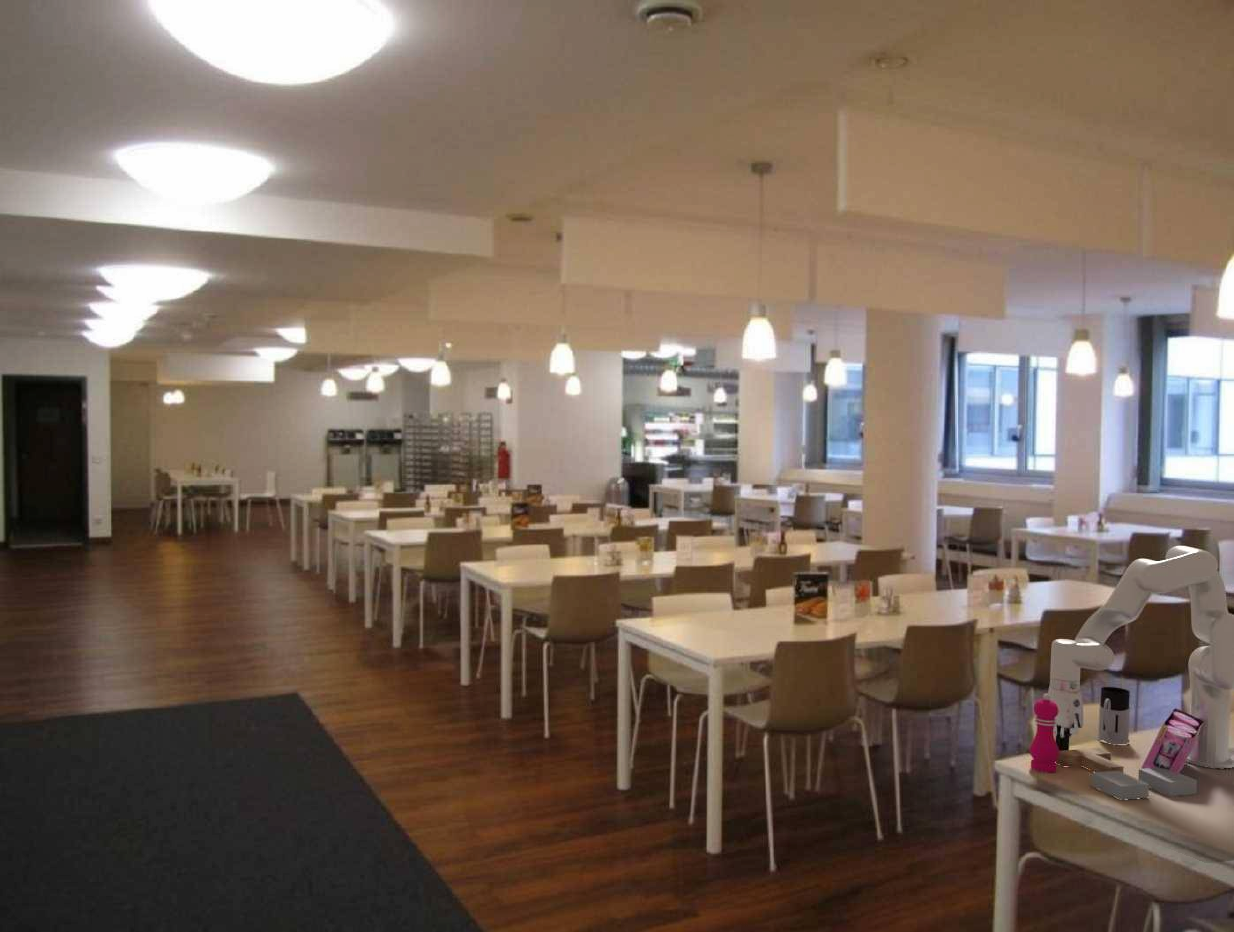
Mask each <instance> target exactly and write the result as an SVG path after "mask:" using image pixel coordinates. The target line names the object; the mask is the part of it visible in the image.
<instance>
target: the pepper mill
mask: <svg viewBox="0 0 1234 932" xmlns="http://www.w3.org/2000/svg"><path fill="white" fill-rule="evenodd" d="M1049 699H1050V696H1049V694H1048V693H1044V694H1043V695H1042V699H1039V700H1037V701H1035V703H1034V705H1033V712H1034V714H1035V715H1036V716H1035V721H1034V722H1035V723H1036V733H1035V736H1034V738H1033V740H1032V741H1031V742H1030V746H1029V754H1030V756H1031V758H1032V759H1031V761H1030V768H1031V767H1032V768H1033V770H1034V769H1035V770H1034V771H1036V770H1038V771H1037V772H1040V771H1043V772H1042V773H1045V772H1053V773H1055V771H1056V772H1057V770H1058V768H1057V766H1058V764H1056V763H1055V761H1056V760H1057V759H1058V758H1059V749H1058V746H1057V744H1056V738H1055V736H1054V735H1055V734H1054V725H1056V723H1055V721H1056V719H1054V718H1055V717H1056V716H1057V715H1058V706H1057V705H1056V703H1055V702H1053V701H1051V700H1049ZM1032 768H1031V769H1032Z"/></svg>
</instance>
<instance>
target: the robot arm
mask: <svg viewBox="0 0 1234 932" xmlns="http://www.w3.org/2000/svg"><path fill="white" fill-rule="evenodd" d="M1218 563H1219V562H1218V561H1217V558H1216V557H1215V555H1214V554H1212V553H1211V552H1209V551H1207V550H1204V549H1200V548H1196V547H1192V546H1187V545H1175V546H1172V547H1171V548H1168V550H1167V551H1166V554H1165V559H1164V560H1160V561H1159V560H1158V561H1156V560H1153V559H1150V558H1137V559H1135V560H1133V561H1132V562H1131V563H1130V564H1129V565H1128V567H1127V568H1126V570H1125V571H1124V573H1123V575H1122V576H1121V578H1120V580H1119V581H1118V583H1117V584H1116V586H1115V588H1114V589H1113V591H1112V592H1111V595H1109V597H1108V599H1107V600H1106V602H1105V603H1104V604H1103V605H1101V606H1100V607H1099V608H1098V609H1097V610H1096V611H1095V612H1094V613H1093V614H1092V615H1091V616H1090V617H1088V619H1087V620H1085V622H1084V624H1083V625H1082V626H1081V628H1080V630H1079V632H1078V633H1077V635H1076V636H1075V639H1074V640H1073V639H1067V638H1065V639H1064V638H1058V639H1057V638H1056V639H1054V640H1053V641H1052V643H1051V649H1050V669H1049V671H1050V672H1049V675H1050V676H1049V687H1048V691H1047V694H1049V696H1050V699H1049V700H1051V701H1053V702H1055V703H1056V705H1057V706H1058V715H1057V716H1056V717H1055V718H1054V719H1056V721H1055V723H1056V725H1054V729H1053V735H1055V742H1056V744H1057V746H1058V749H1059V751H1063V750H1070V738H1072V735H1078V734H1079V733H1080V732H1079V729H1082V728H1083V727H1084V703H1083V702H1084V701H1083V696H1082V692H1080V690H1081V685H1080V684H1081V681H1080V679H1081V669H1082V668H1083V669H1088V670H1094V671H1104V670H1108V669H1109V668H1111V667H1112V666H1113V664H1114V663H1115V654H1114V652H1113V650H1112V649H1111V647H1109V646H1108V645H1107V644H1105V643H1106V641H1107V640H1108V638H1109V636H1110V635H1111V634H1112V633H1113V632H1114V631H1116V630H1117V629H1118V628H1120V627H1122V626H1124V625H1127V624H1130V623H1132V622H1134V621H1135V620H1137V619H1138V618H1139V617H1140V614H1141V613H1142V612H1143V610H1144V608H1145V606H1146V604H1147V603H1148V602H1149V600H1150V598H1151V597H1152V595H1153V594H1165V593H1171V592H1174V591H1178V590H1182V589H1185V588H1188V591H1189V597H1190V599H1189V600H1190V614H1191V615H1190V616H1191V617H1190V618H1191V630H1192V633H1193V634H1194V636H1195V637H1196V638H1197V639H1199V640H1201V641H1202V642H1205V643H1207V644H1209V645H1205V646H1200V647H1197V648H1195V649H1194V651H1192V653H1191V654H1190V656H1189V659H1188V673H1189V674H1188V675H1189V682H1190V683H1189V684H1190V699H1189V700H1190V701H1189V714H1190V715H1192V716H1194V717H1196V718H1198V719H1201V720H1203V721H1204V723H1203V725H1202V728H1201V730H1200V732H1199V734H1198V736H1197V739H1196V741H1195V743H1194V745H1193V747H1192V749H1191V751H1190V754H1189V756H1188V758H1187V760H1186V761H1187V763H1189V762H1190V763H1189V764H1191V763H1192V765H1194V764H1195V765H1194V766H1199V767H1202V766H1207V767H1212V768H1211V769H1215V768H1220V769H1219V770H1225V769H1224V768H1227V769H1226V770H1229V769H1228V768H1230V769H1233V768H1234V759H1232V757H1233V756H1234V747H1231V746H1230V726H1231V709H1232V697H1231V691H1234V614H1232V613H1230V612H1229V610H1228V602H1227V594H1226V587H1225V583H1224V580H1223V578H1222V576H1221V573H1220V572H1219V571H1218V569H1219V564H1218ZM1207 767H1206V768H1207ZM1232 767H1233V768H1232Z"/></svg>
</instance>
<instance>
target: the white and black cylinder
mask: <svg viewBox="0 0 1234 932" xmlns="http://www.w3.org/2000/svg"><path fill="white" fill-rule="evenodd" d="M1130 694H1131V691H1130V690H1128V689H1126V688H1122V687H1116V686H1104V687H1101V688H1100V703H1099V712H1098V713H1099V714H1098V715H1099V716H1098V734H1097V736H1096V740H1097V741H1098V742H1100V740H1104V741H1106V742H1107V743H1111V744H1127V743H1129V742H1130V738H1129V736H1130V735H1129V734H1130V733H1129V730H1130V714H1131V713H1130V710H1131V707H1130V697H1131V695H1130Z"/></svg>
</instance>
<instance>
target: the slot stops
mask: <svg viewBox="0 0 1234 932" xmlns="http://www.w3.org/2000/svg"><path fill="white" fill-rule="evenodd" d="M1090 782H1091V784H1090V787H1091V786H1092V787H1091V788H1093V789H1095V788H1098V789H1100V790H1101V791H1100V790H1099V791H1100V792H1102V791H1103V792H1102V793H1104V792H1105V793H1104V794H1106V793H1107V794H1106V795H1108V794H1109V796H1110V795H1111V796H1110V797H1112V796H1115V797H1117V798H1119V799H1121V800H1125V799H1137V798H1147V797H1149V798H1150V794H1149V793H1150V789H1152V788H1154V789H1156V790H1158V791H1157V792H1159V791H1160V792H1159V793H1161V792H1162V793H1161V794H1163V793H1164V795H1165V794H1166V795H1165V796H1168V797H1170V796H1171V797H1180V796H1179V795H1183V796H1190V795H1191V796H1192V794H1194V795H1197V788H1198V786H1197V784H1198V780H1197V779H1195V778H1193V777H1190V776H1187V775H1184V774H1182V773H1178V772H1175V771H1171V770H1169V769H1164V768H1146V769H1141V768H1139V769H1138V778H1136V777H1133V776H1131V775H1130V774H1127V773H1124V772H1123V773H1122V772H1120V771H1108V772H1095V773H1094V772H1091V781H1090ZM1149 787H1151V788H1149ZM1154 789H1153V790H1154ZM1156 790H1155V791H1156ZM1117 798H1116V799H1117ZM1119 799H1118V800H1119ZM1121 800H1120V801H1121ZM1137 800H1138V799H1137ZM1125 801H1126V800H1125Z"/></svg>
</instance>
